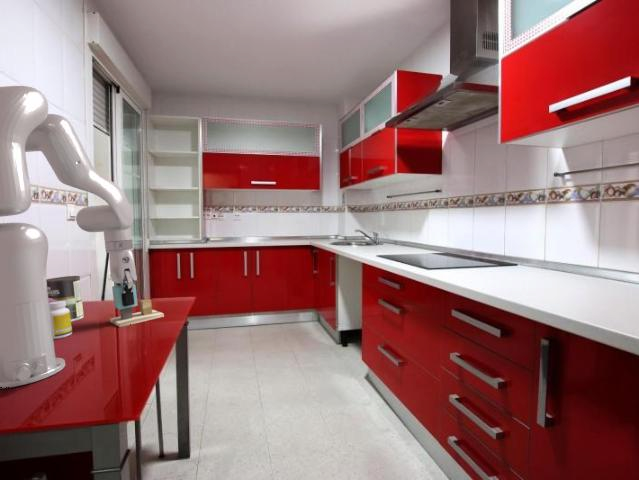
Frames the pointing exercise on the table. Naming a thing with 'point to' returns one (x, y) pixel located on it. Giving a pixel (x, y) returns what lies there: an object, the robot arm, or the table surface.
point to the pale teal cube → (118, 297)
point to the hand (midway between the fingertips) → (125, 303)
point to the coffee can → (67, 294)
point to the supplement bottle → (60, 319)
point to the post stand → (136, 314)
